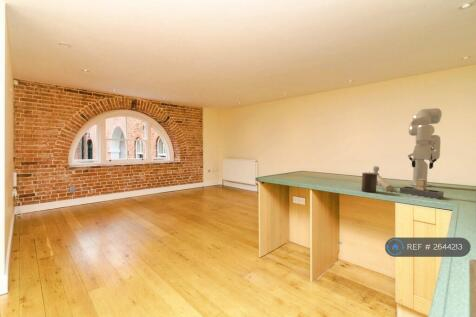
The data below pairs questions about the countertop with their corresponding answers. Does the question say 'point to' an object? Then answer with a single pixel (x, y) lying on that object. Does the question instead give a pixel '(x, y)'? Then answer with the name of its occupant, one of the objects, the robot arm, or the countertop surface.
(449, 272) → the countertop surface
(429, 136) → the robot arm
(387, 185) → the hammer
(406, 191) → the rail
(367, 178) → the pillar candle
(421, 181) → the peg
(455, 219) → the countertop surface
